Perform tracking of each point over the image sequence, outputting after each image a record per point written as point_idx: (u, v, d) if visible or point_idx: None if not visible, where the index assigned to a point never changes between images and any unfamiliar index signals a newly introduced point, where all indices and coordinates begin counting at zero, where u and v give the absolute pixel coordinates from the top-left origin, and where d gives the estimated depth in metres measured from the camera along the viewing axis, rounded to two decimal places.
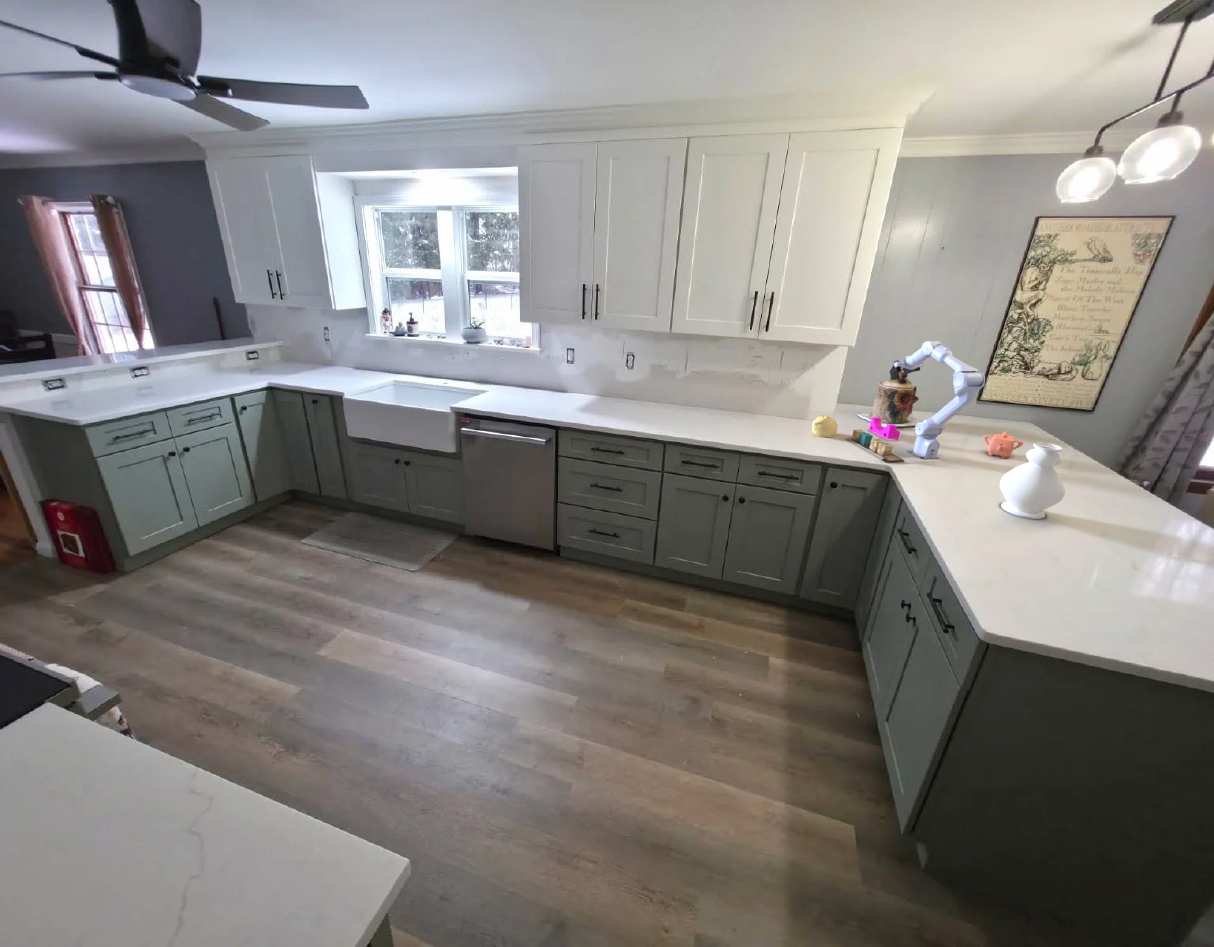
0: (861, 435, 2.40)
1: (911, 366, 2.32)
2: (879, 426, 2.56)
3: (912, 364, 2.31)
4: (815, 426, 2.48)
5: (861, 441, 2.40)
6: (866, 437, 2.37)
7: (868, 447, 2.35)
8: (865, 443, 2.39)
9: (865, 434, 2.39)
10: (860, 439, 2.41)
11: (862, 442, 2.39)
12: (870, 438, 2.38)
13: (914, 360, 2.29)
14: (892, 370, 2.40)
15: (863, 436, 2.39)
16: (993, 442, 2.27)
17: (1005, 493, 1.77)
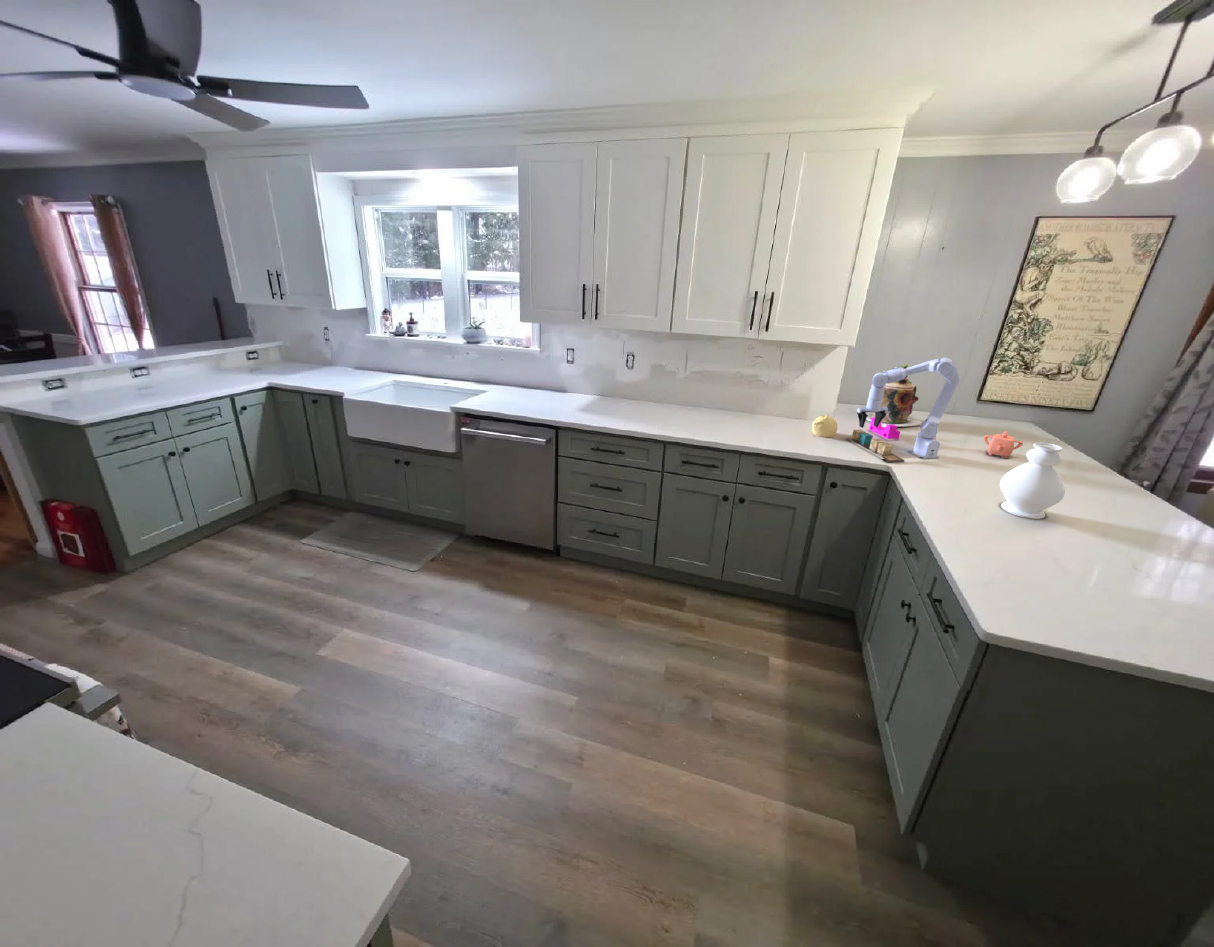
0: (861, 435, 2.40)
1: (874, 407, 2.31)
2: (879, 426, 2.56)
3: (873, 403, 2.31)
4: (815, 426, 2.48)
5: (861, 441, 2.40)
6: (866, 437, 2.37)
7: (868, 447, 2.35)
8: (865, 443, 2.39)
9: (865, 434, 2.39)
10: (860, 439, 2.41)
11: (862, 442, 2.39)
12: (870, 438, 2.38)
13: (878, 399, 2.29)
14: (861, 422, 2.36)
15: (863, 436, 2.39)
16: (993, 442, 2.27)
17: (1005, 493, 1.77)
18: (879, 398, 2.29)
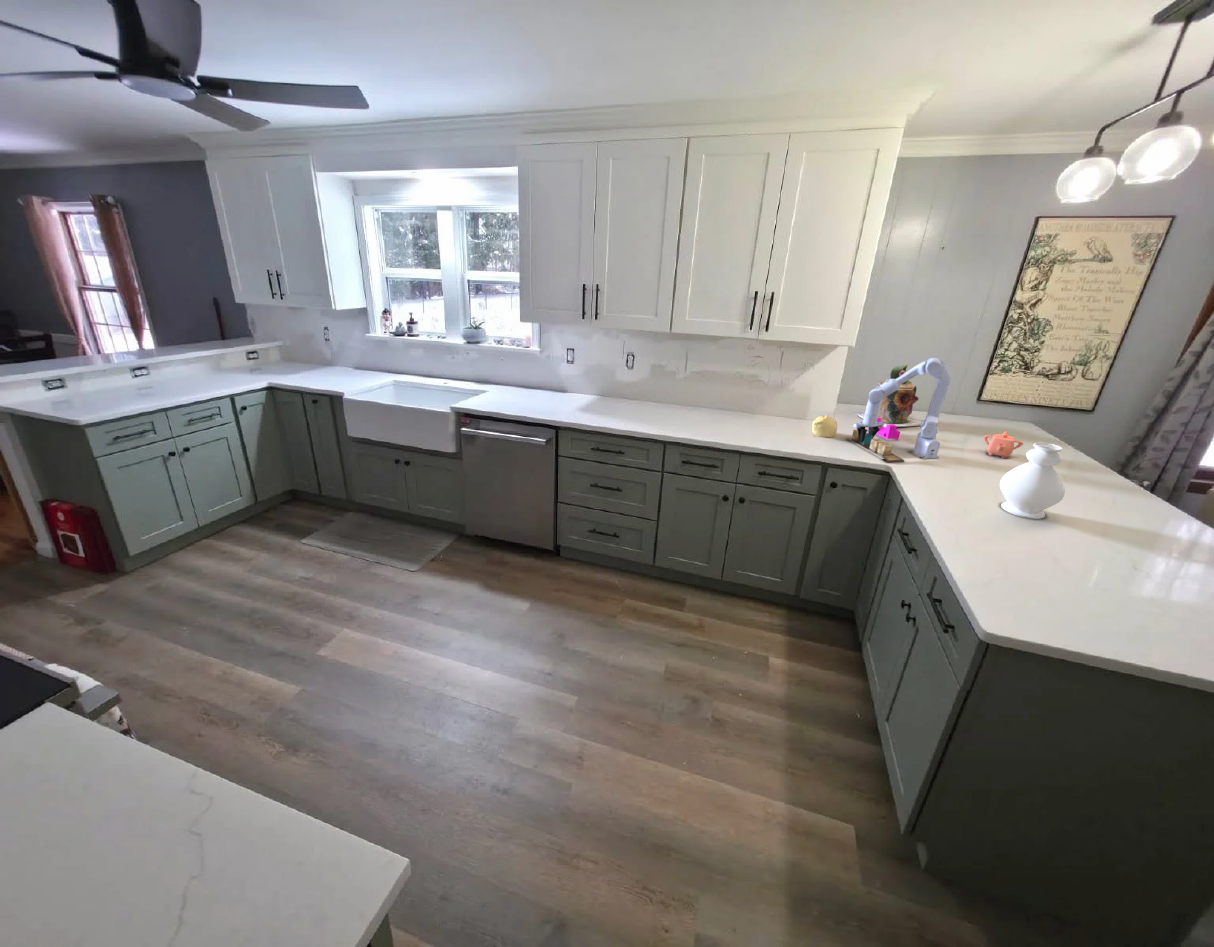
0: None
1: (870, 422, 2.34)
2: None
3: (869, 419, 2.34)
4: (815, 426, 2.48)
5: None
6: (866, 437, 2.37)
7: (868, 447, 2.35)
8: (865, 443, 2.39)
9: (865, 434, 2.39)
10: None
11: (862, 442, 2.39)
12: (870, 438, 2.38)
13: (874, 415, 2.32)
14: (860, 437, 2.39)
15: None
16: (993, 442, 2.27)
17: (1005, 493, 1.77)
18: (875, 414, 2.32)
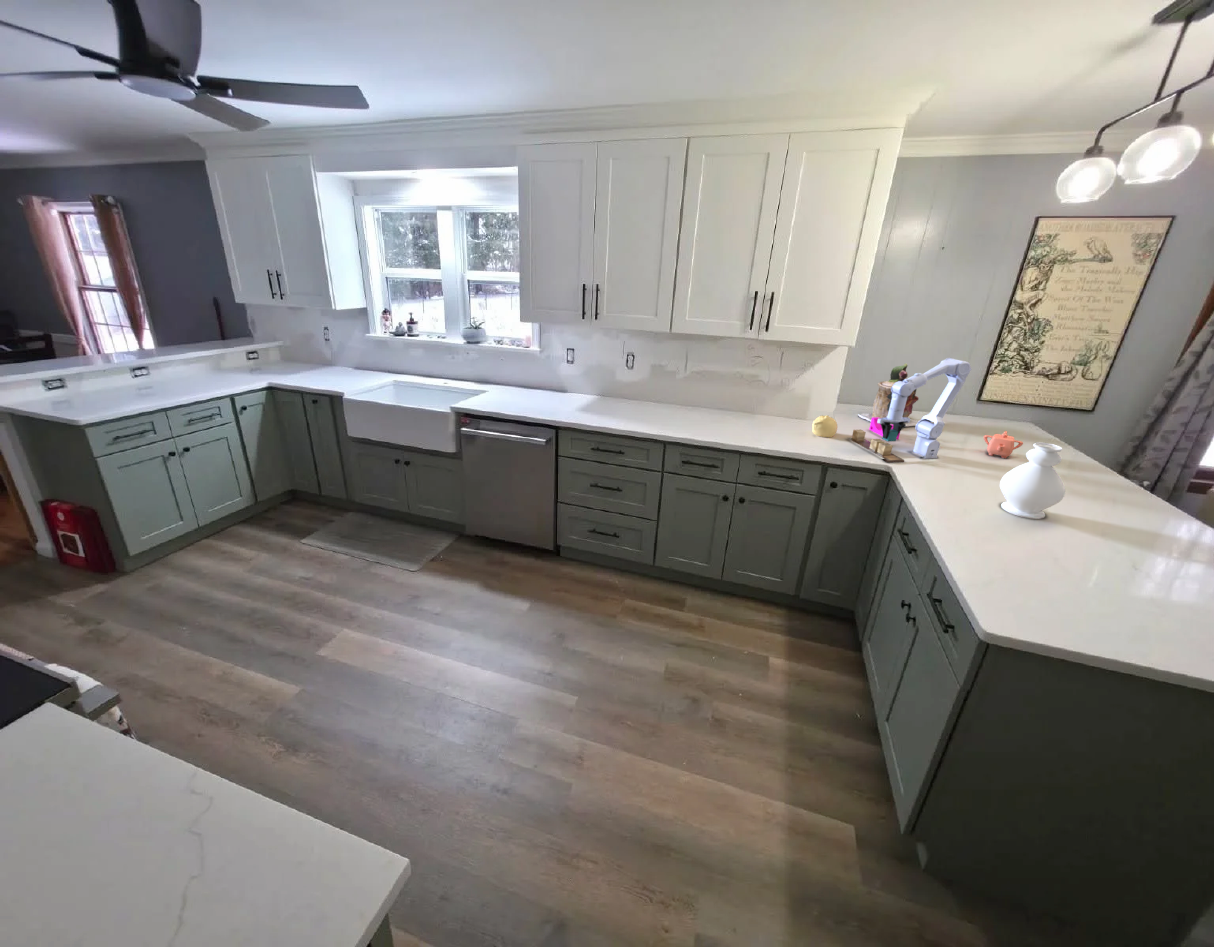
0: None
1: (895, 417, 2.18)
2: (879, 426, 2.56)
3: (895, 414, 2.17)
4: (815, 426, 2.48)
5: None
6: (891, 433, 2.21)
7: (868, 447, 2.35)
8: (889, 440, 2.22)
9: None
10: None
11: (886, 439, 2.23)
12: (895, 434, 2.22)
13: (903, 409, 2.17)
14: (884, 433, 2.23)
15: None
16: (993, 442, 2.27)
17: (1005, 493, 1.77)
18: None
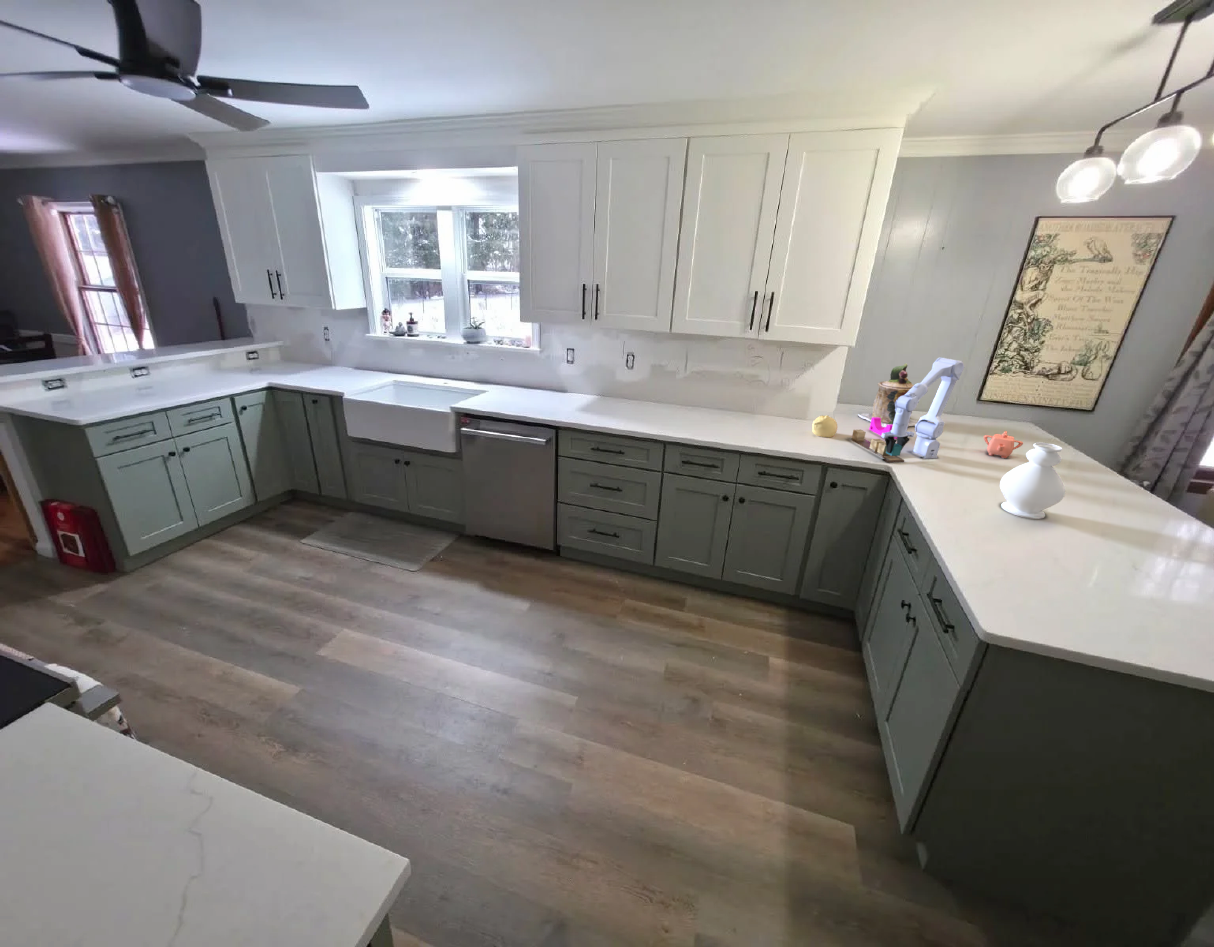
0: None
1: (900, 432, 2.16)
2: (879, 426, 2.56)
3: (899, 428, 2.15)
4: (815, 426, 2.48)
5: None
6: (895, 448, 2.19)
7: (868, 447, 2.35)
8: (893, 454, 2.20)
9: None
10: None
11: (890, 453, 2.21)
12: (899, 449, 2.20)
13: None
14: (888, 447, 2.21)
15: None
16: (993, 442, 2.27)
17: (1005, 493, 1.77)
18: (908, 422, 2.15)
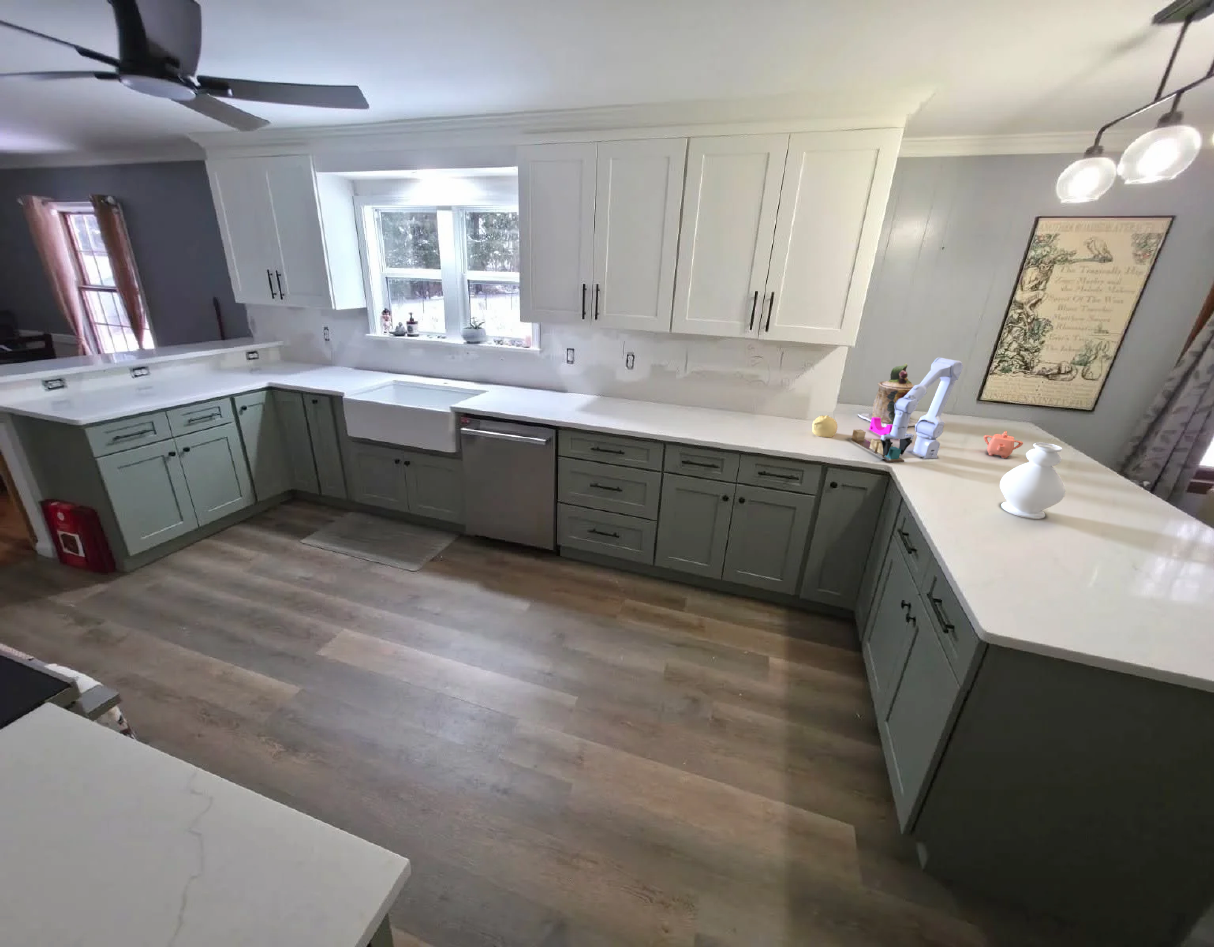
0: None
1: (899, 434, 2.16)
2: (879, 426, 2.56)
3: (898, 430, 2.16)
4: (815, 426, 2.48)
5: (888, 455, 2.22)
6: (894, 451, 2.20)
7: (868, 447, 2.35)
8: (892, 458, 2.21)
9: (892, 448, 2.21)
10: None
11: (889, 457, 2.22)
12: (898, 452, 2.20)
13: (907, 425, 2.15)
14: (884, 450, 2.21)
15: (890, 450, 2.21)
16: (993, 442, 2.27)
17: (1005, 493, 1.77)
18: None
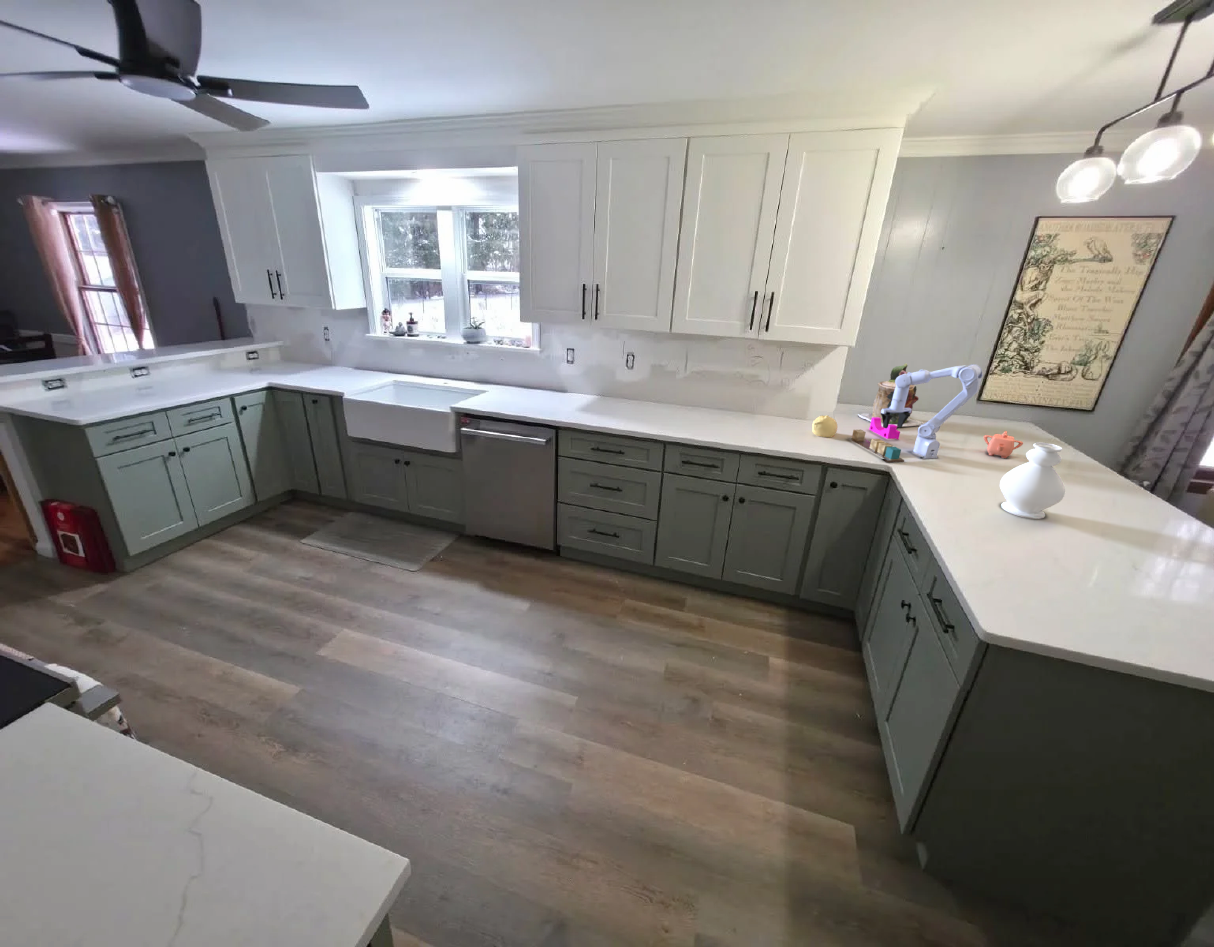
0: (888, 449, 2.22)
1: (898, 407, 2.30)
2: (879, 426, 2.56)
3: (897, 404, 2.30)
4: (815, 426, 2.48)
5: (888, 455, 2.22)
6: (894, 451, 2.20)
7: (868, 447, 2.35)
8: (892, 458, 2.21)
9: (892, 448, 2.21)
10: (887, 453, 2.23)
11: (889, 457, 2.22)
12: (898, 452, 2.20)
13: (900, 400, 2.29)
14: (884, 423, 2.35)
15: (890, 450, 2.21)
16: (993, 442, 2.27)
17: (1005, 493, 1.77)
18: (902, 399, 2.28)
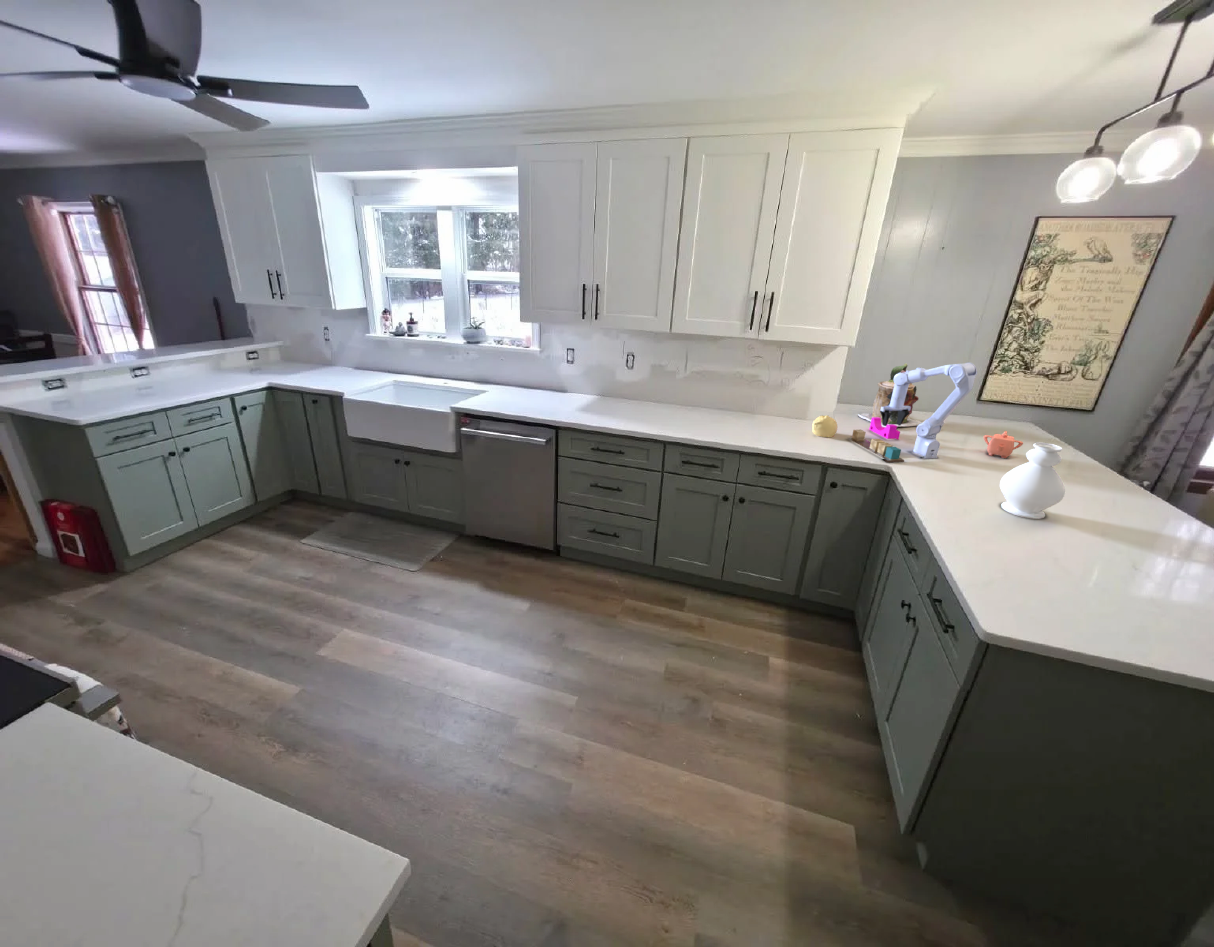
0: (888, 449, 2.22)
1: (897, 405, 2.34)
2: (879, 426, 2.56)
3: (896, 402, 2.33)
4: (815, 426, 2.48)
5: (888, 455, 2.22)
6: (894, 451, 2.20)
7: (868, 447, 2.35)
8: (892, 458, 2.21)
9: (892, 448, 2.21)
10: (887, 453, 2.23)
11: (889, 457, 2.22)
12: (898, 452, 2.20)
13: (898, 397, 2.33)
14: (884, 421, 2.39)
15: (890, 450, 2.21)
16: (993, 442, 2.27)
17: (1005, 493, 1.77)
18: (899, 397, 2.32)
